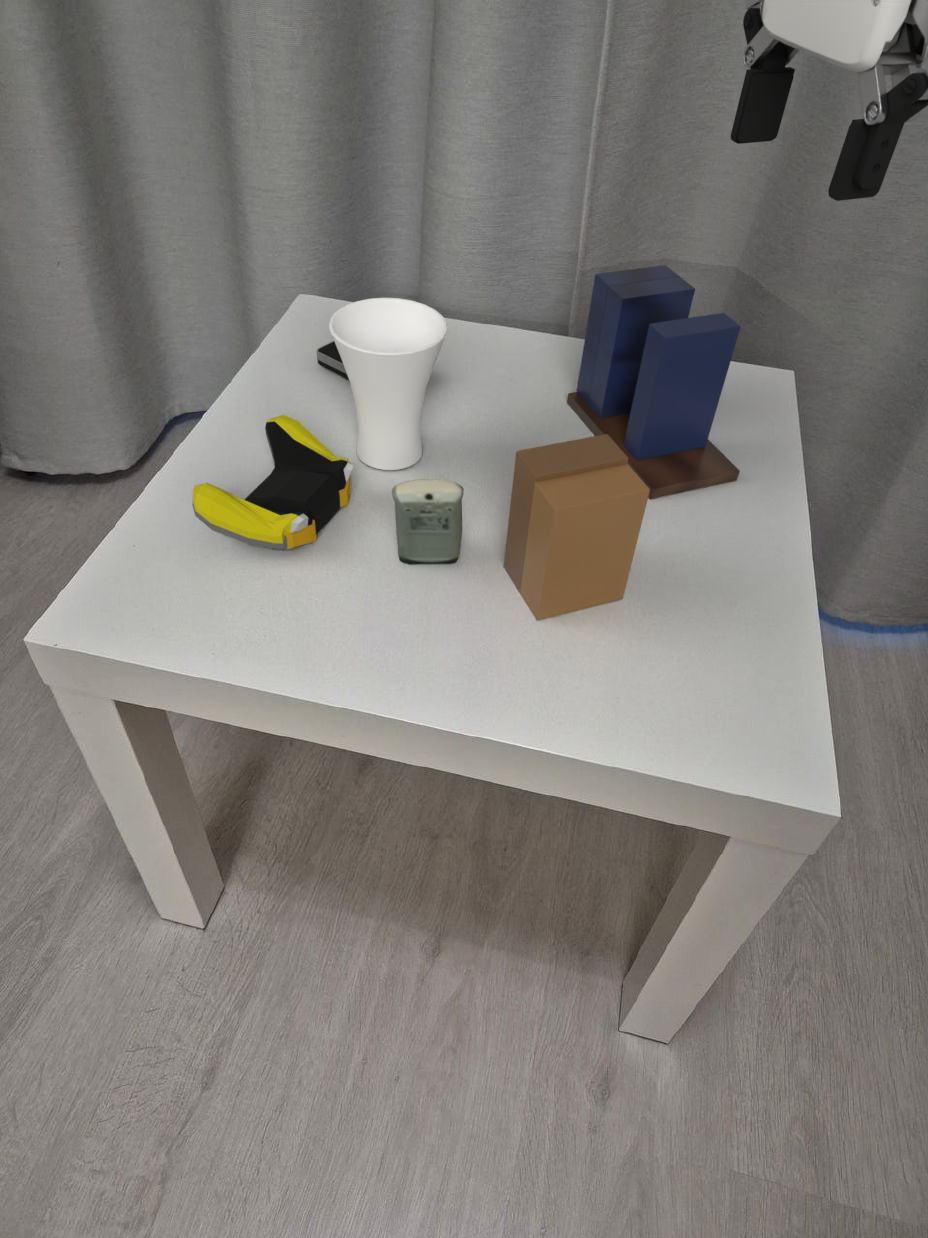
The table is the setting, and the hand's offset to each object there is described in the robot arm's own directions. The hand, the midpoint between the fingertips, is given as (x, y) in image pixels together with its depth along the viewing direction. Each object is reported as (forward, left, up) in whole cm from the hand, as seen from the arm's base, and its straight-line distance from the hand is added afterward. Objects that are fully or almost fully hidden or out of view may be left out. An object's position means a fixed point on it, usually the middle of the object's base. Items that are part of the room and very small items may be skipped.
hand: (799, 167), depth 53 cm
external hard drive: (+15, -40, -34) cm, 54 cm away
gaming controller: (+30, -19, -34) cm, 49 cm away
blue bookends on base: (-8, -19, -33) cm, 39 cm away
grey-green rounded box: (+20, -9, -34) cm, 40 cm away
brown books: (+10, -2, -33) cm, 35 cm away
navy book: (-8, -16, -32) cm, 37 cm away
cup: (+18, -25, -34) cm, 46 cm away
